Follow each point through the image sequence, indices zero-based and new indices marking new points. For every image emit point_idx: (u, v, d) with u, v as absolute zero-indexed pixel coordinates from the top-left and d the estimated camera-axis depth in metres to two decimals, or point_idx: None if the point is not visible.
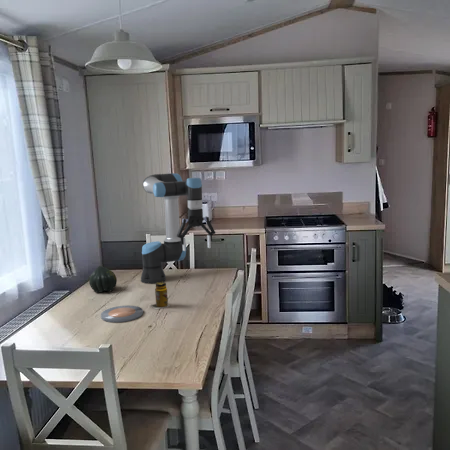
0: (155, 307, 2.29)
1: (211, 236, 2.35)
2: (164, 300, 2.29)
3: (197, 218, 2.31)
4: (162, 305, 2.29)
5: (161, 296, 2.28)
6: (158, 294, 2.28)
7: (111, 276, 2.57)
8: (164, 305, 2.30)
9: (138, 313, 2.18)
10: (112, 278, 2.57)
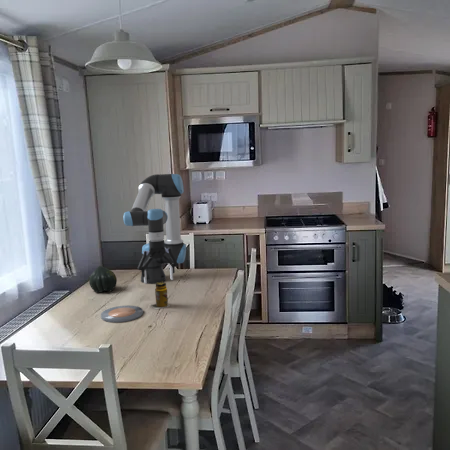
0: (155, 307, 2.29)
1: (173, 268, 2.31)
2: (164, 300, 2.29)
3: (158, 250, 2.26)
4: (162, 305, 2.29)
5: (161, 296, 2.28)
6: (158, 294, 2.28)
7: (111, 276, 2.57)
8: (164, 305, 2.30)
9: (138, 313, 2.18)
10: (112, 278, 2.57)
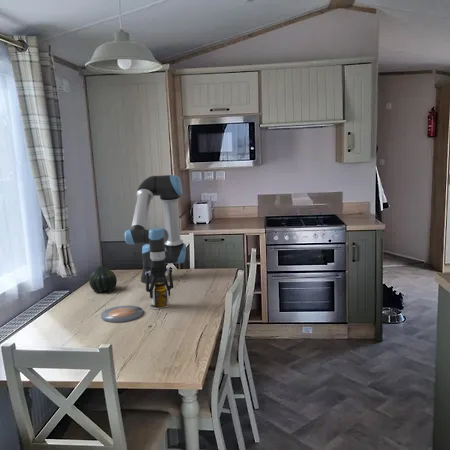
0: (154, 307, 2.29)
1: (169, 290, 2.32)
2: (163, 300, 2.29)
3: (160, 267, 2.28)
4: (161, 305, 2.29)
5: (160, 296, 2.28)
6: (157, 294, 2.28)
7: (111, 276, 2.57)
8: (163, 305, 2.29)
9: (138, 313, 2.18)
10: (112, 278, 2.57)
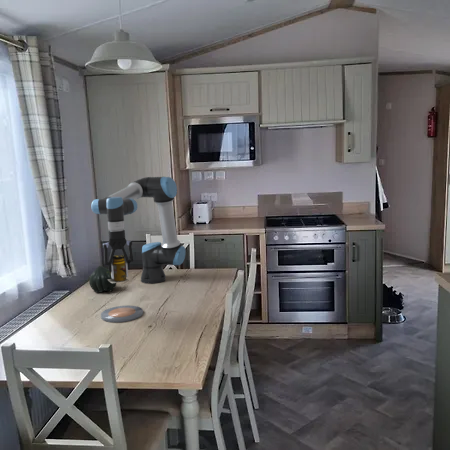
0: (112, 282, 2.15)
1: (129, 264, 2.18)
2: (121, 274, 2.15)
3: (119, 238, 2.14)
4: (119, 279, 2.15)
5: (119, 270, 2.14)
6: (115, 267, 2.14)
7: None
8: (122, 279, 2.15)
9: (138, 313, 2.18)
10: None
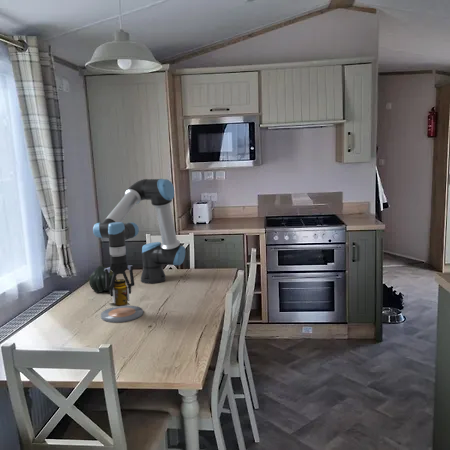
0: (113, 306, 2.17)
1: (130, 288, 2.20)
2: (122, 298, 2.17)
3: (121, 263, 2.16)
4: (121, 303, 2.17)
5: (120, 294, 2.16)
6: (116, 292, 2.16)
7: (111, 276, 2.57)
8: (123, 303, 2.17)
9: (138, 313, 2.18)
10: None
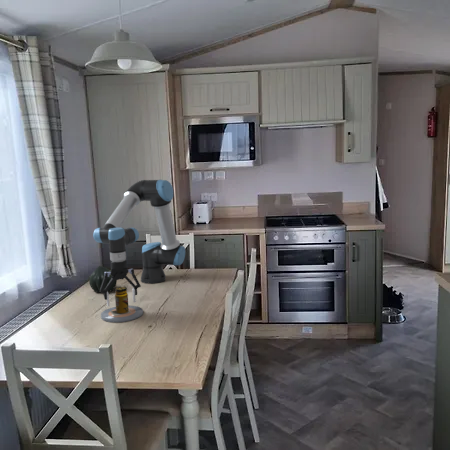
0: (114, 314, 2.18)
1: (136, 290, 2.21)
2: (123, 306, 2.18)
3: (120, 270, 2.16)
4: (122, 311, 2.18)
5: (121, 302, 2.17)
6: (117, 300, 2.17)
7: (111, 276, 2.57)
8: (124, 311, 2.18)
9: (138, 313, 2.18)
10: None
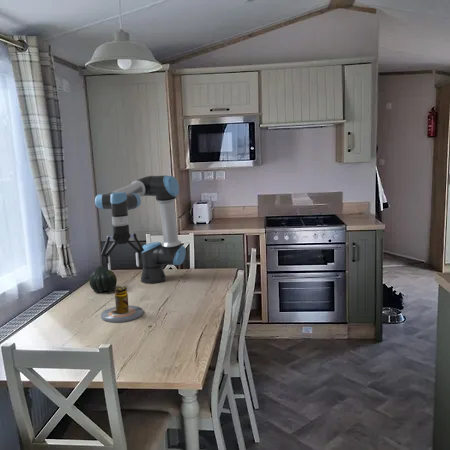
0: (114, 314, 2.18)
1: (139, 254, 2.21)
2: (123, 306, 2.18)
3: (123, 235, 2.16)
4: (122, 311, 2.18)
5: (121, 302, 2.17)
6: (117, 300, 2.17)
7: (111, 276, 2.57)
8: (124, 311, 2.18)
9: (138, 313, 2.18)
10: (112, 278, 2.57)
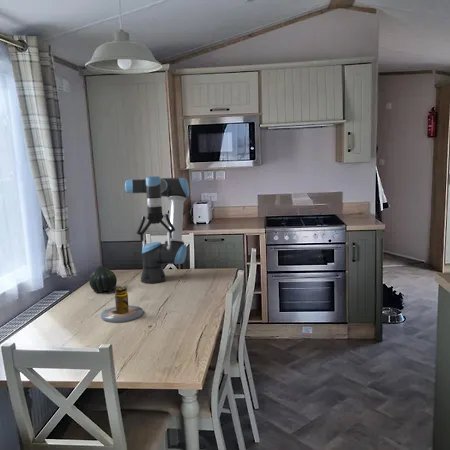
0: (114, 314, 2.18)
1: (171, 233, 2.42)
2: (123, 306, 2.18)
3: (156, 215, 2.37)
4: (122, 311, 2.18)
5: (121, 302, 2.17)
6: (117, 300, 2.17)
7: (111, 276, 2.57)
8: (124, 311, 2.18)
9: (138, 313, 2.18)
10: (112, 278, 2.57)
